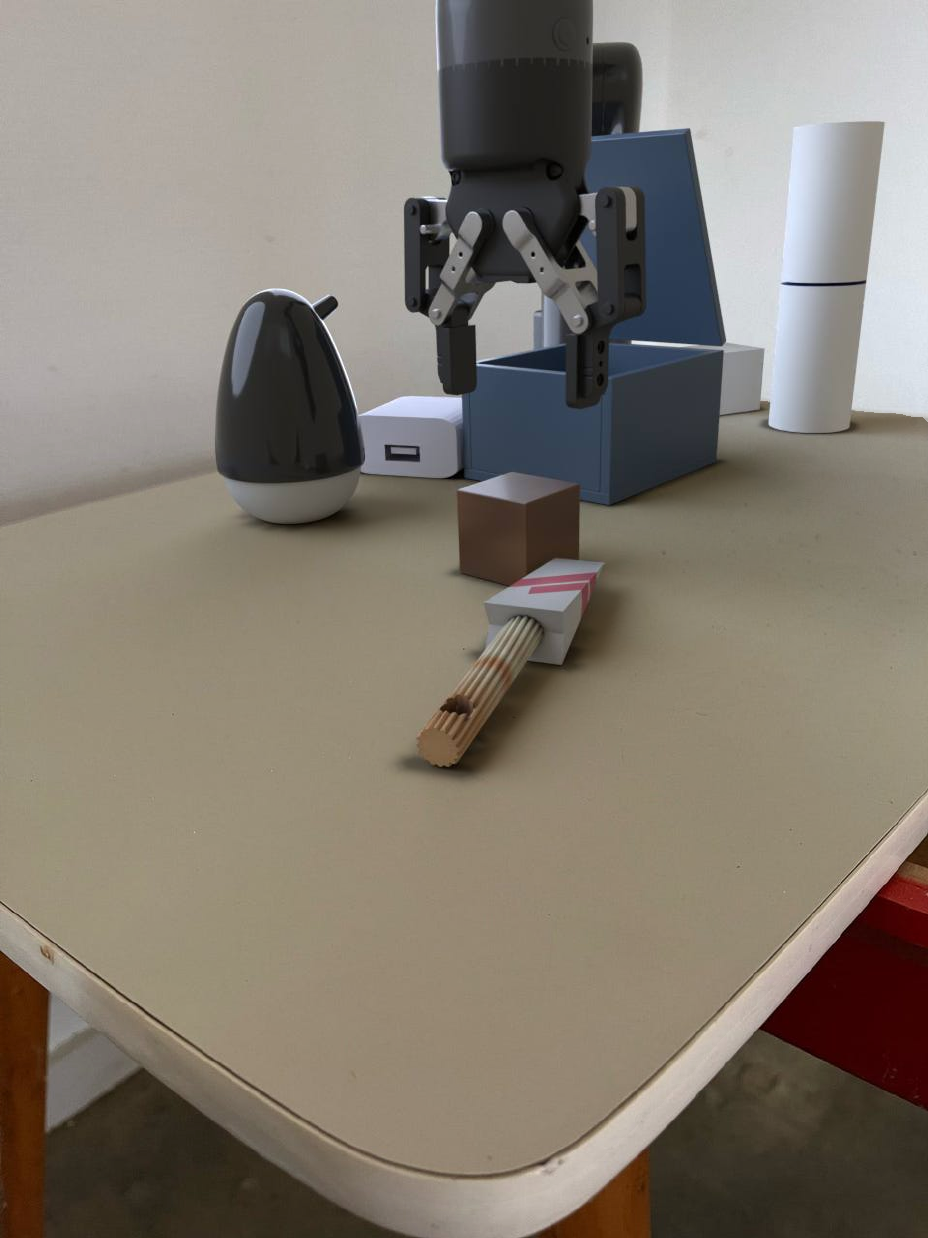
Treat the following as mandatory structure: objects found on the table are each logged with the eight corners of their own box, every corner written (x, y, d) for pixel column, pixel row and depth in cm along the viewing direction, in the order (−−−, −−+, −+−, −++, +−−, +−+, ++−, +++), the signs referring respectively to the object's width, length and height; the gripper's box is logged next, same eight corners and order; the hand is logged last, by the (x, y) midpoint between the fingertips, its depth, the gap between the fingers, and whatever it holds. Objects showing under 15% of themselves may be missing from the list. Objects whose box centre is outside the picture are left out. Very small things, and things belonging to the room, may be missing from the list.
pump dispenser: (400, 507, 71) (387, 283, 65) (290, 545, 64) (265, 296, 58) (304, 487, 77) (284, 281, 71) (193, 519, 70) (161, 292, 64)
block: (459, 572, 58) (456, 489, 56) (512, 550, 61) (511, 471, 59) (526, 591, 55) (526, 503, 53) (579, 566, 58) (580, 483, 56)
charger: (514, 438, 91) (457, 479, 78) (421, 434, 94) (351, 472, 81) (514, 386, 89) (455, 419, 76) (419, 383, 92) (347, 414, 79)
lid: (685, 132, 66) (718, 100, 68) (524, 145, 75) (558, 116, 77) (722, 346, 77) (750, 313, 79) (577, 337, 85) (606, 306, 87)
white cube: (711, 416, 97) (715, 353, 95) (674, 407, 102) (677, 347, 100) (760, 409, 100) (764, 347, 97) (721, 400, 105) (725, 341, 102)
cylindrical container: (756, 428, 92) (780, 126, 82) (785, 414, 97) (811, 129, 87) (834, 436, 88) (869, 119, 78) (860, 421, 93) (895, 123, 83)
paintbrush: (615, 537, 53) (481, 725, 36) (614, 585, 54) (483, 787, 37) (546, 531, 54) (385, 708, 38) (546, 577, 55) (391, 769, 39)
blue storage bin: (609, 505, 70) (612, 378, 66) (464, 477, 78) (460, 363, 75) (716, 461, 80) (724, 349, 77) (578, 441, 89) (580, 340, 86)
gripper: (684, 50, 46) (668, 401, 52) (456, 83, 55) (465, 380, 61) (592, 33, 41) (587, 425, 47) (357, 72, 50) (378, 398, 56)
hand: (518, 399), depth 54 cm, fingers open, 8 cm apart
